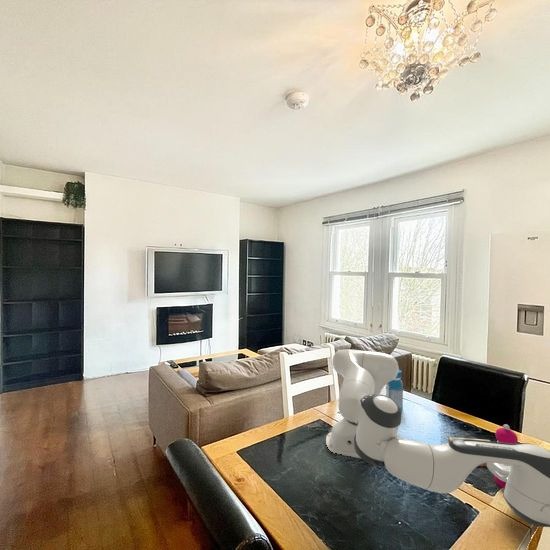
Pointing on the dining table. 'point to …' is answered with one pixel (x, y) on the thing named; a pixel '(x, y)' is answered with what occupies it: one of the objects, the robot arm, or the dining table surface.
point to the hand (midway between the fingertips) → (510, 454)
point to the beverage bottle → (396, 390)
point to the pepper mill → (505, 437)
